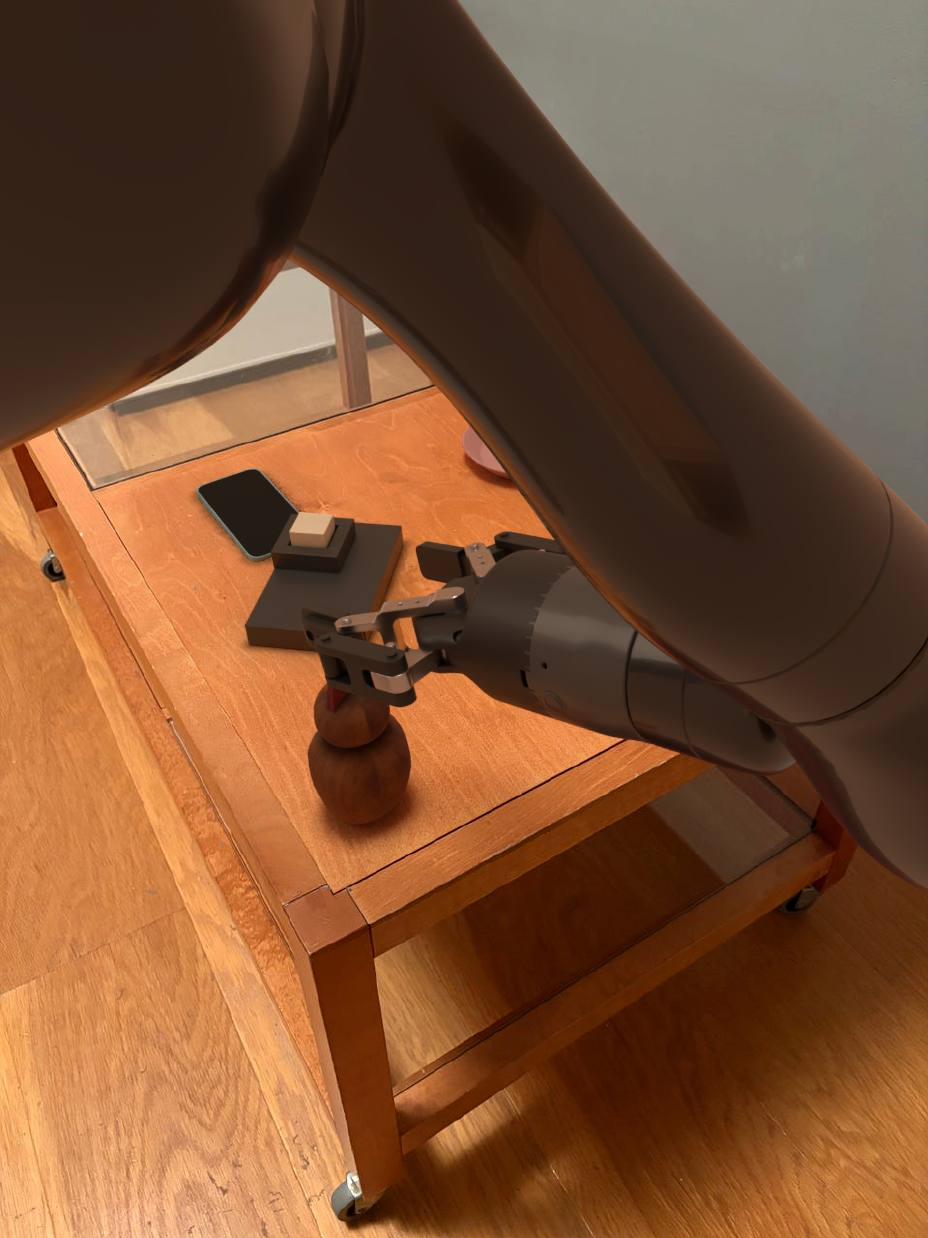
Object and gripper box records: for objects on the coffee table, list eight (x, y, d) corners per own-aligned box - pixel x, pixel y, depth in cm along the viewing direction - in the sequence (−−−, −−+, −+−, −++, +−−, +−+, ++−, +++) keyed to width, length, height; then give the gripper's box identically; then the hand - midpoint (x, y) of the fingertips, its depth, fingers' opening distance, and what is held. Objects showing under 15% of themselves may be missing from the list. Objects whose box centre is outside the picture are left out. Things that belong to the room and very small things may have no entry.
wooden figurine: (386, 756, 71) (367, 600, 61) (427, 807, 67) (414, 649, 57) (304, 797, 68) (271, 640, 58) (342, 852, 64) (313, 695, 54)
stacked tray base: (248, 644, 81) (239, 608, 78) (303, 536, 93) (297, 502, 90) (362, 655, 79) (357, 619, 77) (403, 544, 91) (400, 509, 89)
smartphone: (251, 560, 89) (192, 487, 99) (253, 569, 90) (194, 496, 99) (320, 534, 92) (256, 465, 101) (321, 543, 93) (258, 474, 102)
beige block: (291, 547, 85) (288, 531, 84) (302, 527, 87) (299, 511, 86) (326, 550, 85) (323, 534, 83) (335, 529, 87) (333, 514, 86)
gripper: (670, 507, 45) (441, 483, 57) (463, 642, 37) (245, 582, 48) (687, 644, 48) (467, 595, 60) (501, 796, 40) (287, 706, 52)
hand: (368, 589), depth 54 cm, fingers open, 8 cm apart
